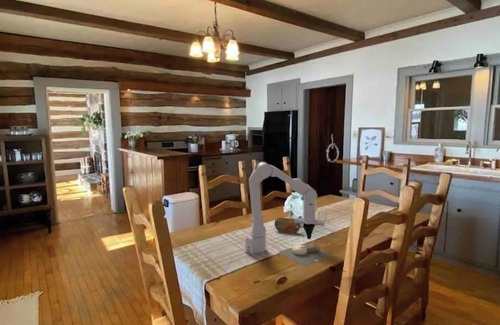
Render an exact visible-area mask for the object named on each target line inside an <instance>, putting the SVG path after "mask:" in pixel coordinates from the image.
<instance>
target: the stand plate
mask: <svg viewBox="0 0 500 325" xmlns="http://www.w3.org/2000/svg"><path fill="white" fill-rule="evenodd" d="M301 245H303V246H306V247H314V246H312V245H310V244H308V243H302V244H301ZM278 254H280V255H282V256H284V257H286V258H288V259H289V260H292V261H294V262H295V263H297V264H298V265H301V266H303V267H305V266H308V265H312V264H314V263H317V262H320V261H323V260H325V259H328V258H331V257H333V255H332V254H330V253H328V252H326V251H324V250H321V249H320V251H315V252H307V254H305V255H296V254H293V253H292V247H288V248H286V249H282V250H279V251H278Z"/></svg>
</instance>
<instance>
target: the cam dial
mask: <svg viewBox="0 0 500 325" xmlns="http://www.w3.org/2000/svg"><path fill="white" fill-rule="evenodd" d="M291 248H292V253H293V254H296V255H305V254H307V252H315V251H320V250H321V241H319V240H314V246H313V247H306V246H303V245H302V244H296V245H293V246H292V247H291Z"/></svg>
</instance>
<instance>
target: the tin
mask: <svg viewBox="0 0 500 325" xmlns="http://www.w3.org/2000/svg"><path fill="white" fill-rule="evenodd" d="M294 219H295V218H294V217H285V216H280V217H277V218H276V219H275V220H274V227H275V229H276V230H277V231H278V232H280V233H288V234H296V233H298V232H299V231H300V229H301V223H294Z"/></svg>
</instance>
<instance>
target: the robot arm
mask: <svg viewBox="0 0 500 325" xmlns="http://www.w3.org/2000/svg"><path fill="white" fill-rule="evenodd" d="M250 174H251V175H250V176H249V178H248V185H249V186H248V187H249V195H250V196H249V197H250V205H251V206H250V209H251V214H252V215H251V223H250V227H251V232H250V235H249V236H248V237H246V238H245V250H244V252H245V254H248V253H249V254H251V255H255V254H260V253H264V252H266V249H267V244H266V243H267V239H266V238H267V237H266V236H267V234H266V231H267V230H266V227H265V225H264V219H263V214H262V213H263V212H262V204H261V203H262V202H261V192H260V191H261V190H260V184H261V182H263V180H265V179H268V178H269V177H273V178H274V177H277V178H278V179H280V180H281V181H284V182H285V183H287V184H289V188H290V190H293V191H294V192H295V193H297V194H298V195H301V196H302V197H303V204H302V212H303V216H302V217H301V218H298V217H296V218H295V219H294V223H300V224H303V225H302V228H303V229H304V232H305V234H306V239H307V240H311V239H312V236H313V231H314V228H315V227H316V226H320V227H325V221H323V220H320V219H316V199H317V197H318V194H317V191H316V190H315V188H313V187H311V186H310V185H309V184H307V183H305V182H304V181H302V180H303V179H302V178H297V177H296V178H292V177H290V175H288V174H286V173H285V172H283V170H280V168H277V167H276V166H275V165H272V164H268V162H266V161H261V162H258V163H257V164H256V165H255V166H254V168H253V170H252V173H250Z"/></svg>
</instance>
